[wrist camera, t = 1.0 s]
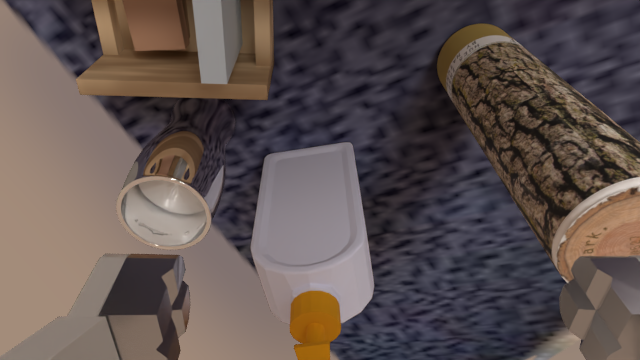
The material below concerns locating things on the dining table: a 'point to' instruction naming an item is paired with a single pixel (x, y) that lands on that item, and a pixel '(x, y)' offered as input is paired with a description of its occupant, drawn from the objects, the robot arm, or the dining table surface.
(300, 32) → the dining table surface
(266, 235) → the soap bottle
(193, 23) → the tray
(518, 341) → the dining table surface
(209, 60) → the grey block
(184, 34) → the offcut
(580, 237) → the brown bark cylinder
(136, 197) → the beer glass
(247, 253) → the dining table surface
